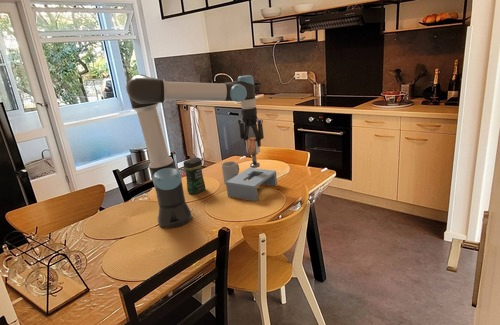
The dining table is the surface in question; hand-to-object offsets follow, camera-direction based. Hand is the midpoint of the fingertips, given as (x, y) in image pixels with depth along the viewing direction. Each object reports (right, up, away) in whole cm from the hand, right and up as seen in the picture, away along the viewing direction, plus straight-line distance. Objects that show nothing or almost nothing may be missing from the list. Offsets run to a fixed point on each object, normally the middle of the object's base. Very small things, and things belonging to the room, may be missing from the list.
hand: (253, 152), depth 173 cm
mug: (-11, -16, +19) cm, 28 cm away
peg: (+1, -7, +2) cm, 8 cm away
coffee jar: (-31, -21, +10) cm, 39 cm away
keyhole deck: (0, -20, +3) cm, 20 cm away
